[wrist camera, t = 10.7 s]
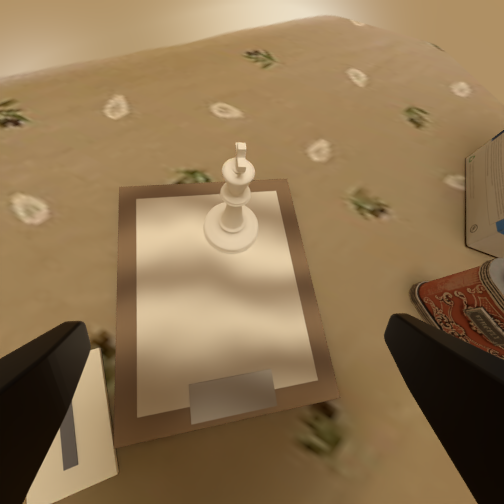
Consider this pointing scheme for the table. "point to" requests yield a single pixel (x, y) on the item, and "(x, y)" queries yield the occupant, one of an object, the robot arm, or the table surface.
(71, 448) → the plate
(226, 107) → the table surface
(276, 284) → the clipboard
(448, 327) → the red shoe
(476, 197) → the string lights box
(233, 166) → the chess piece
